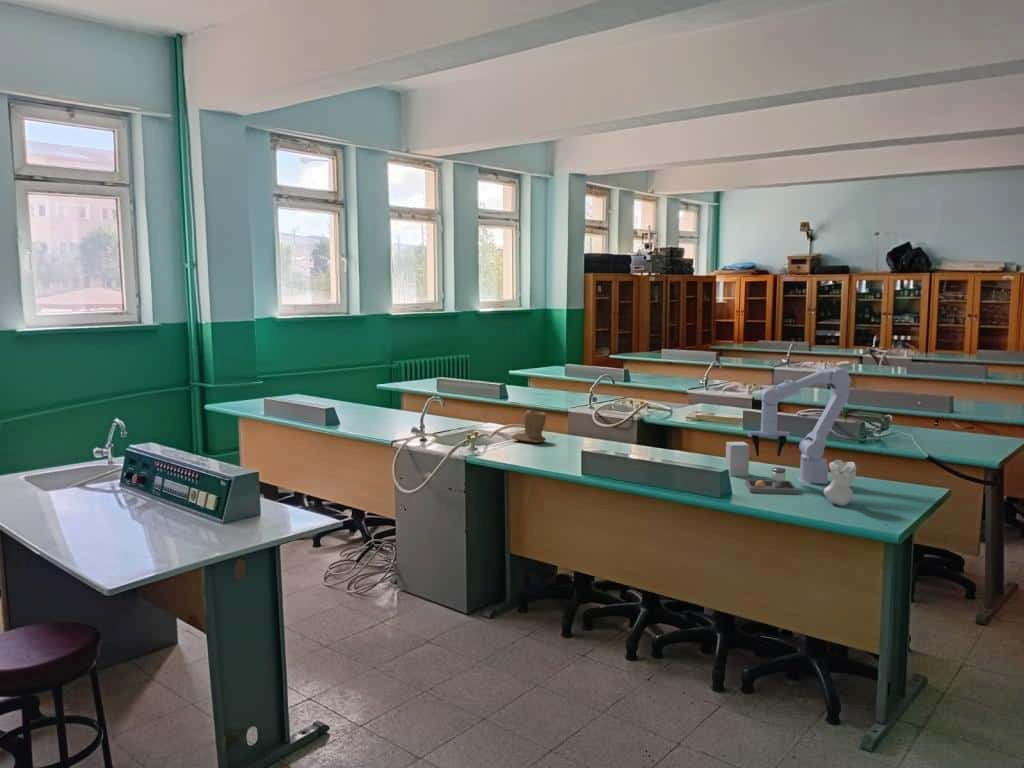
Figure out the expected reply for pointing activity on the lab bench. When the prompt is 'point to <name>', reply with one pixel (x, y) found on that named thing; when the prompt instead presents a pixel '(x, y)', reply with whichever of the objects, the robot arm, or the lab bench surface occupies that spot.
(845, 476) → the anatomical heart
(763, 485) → the ball
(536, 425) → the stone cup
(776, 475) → the shaker
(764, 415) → the robot arm
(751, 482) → the tray
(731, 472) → the supplement box
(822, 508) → the lab bench surface
